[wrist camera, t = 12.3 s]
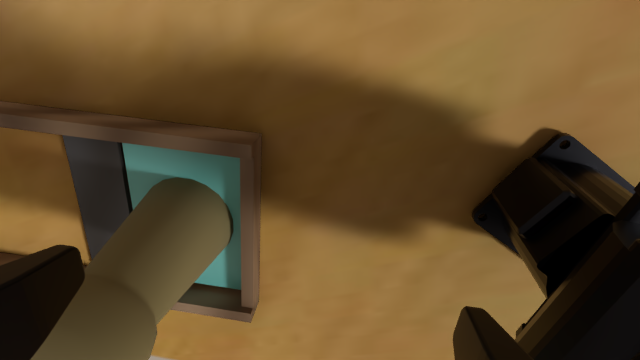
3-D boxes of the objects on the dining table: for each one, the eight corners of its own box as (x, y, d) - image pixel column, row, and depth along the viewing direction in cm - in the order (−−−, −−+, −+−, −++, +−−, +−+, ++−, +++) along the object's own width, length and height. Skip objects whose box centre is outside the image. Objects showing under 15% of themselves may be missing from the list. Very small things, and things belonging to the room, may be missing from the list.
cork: (249, 209, 22) (156, 367, 13) (212, 271, 25) (109, 442, 15) (161, 159, 22) (-12, 285, 12) (131, 228, 24) (-31, 379, 14)
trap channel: (261, 133, 21) (251, 145, 19) (258, 301, 26) (250, 322, 24) (-153, 81, 23) (-199, 88, 21) (-74, 248, 28) (-104, 264, 26)
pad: (245, 150, 21) (242, 153, 21) (245, 286, 26) (243, 290, 25) (125, 135, 22) (121, 137, 21) (146, 271, 26) (143, 274, 26)
